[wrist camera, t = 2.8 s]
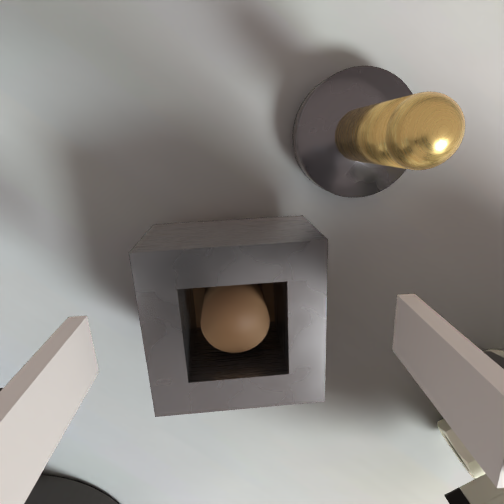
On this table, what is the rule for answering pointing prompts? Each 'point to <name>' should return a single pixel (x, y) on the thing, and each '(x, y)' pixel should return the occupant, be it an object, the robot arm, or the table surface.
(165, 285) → the grey square box
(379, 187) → the door knob
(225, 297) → the brown knob on base
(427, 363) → the robot arm
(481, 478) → the ball valve
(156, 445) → the table surface
